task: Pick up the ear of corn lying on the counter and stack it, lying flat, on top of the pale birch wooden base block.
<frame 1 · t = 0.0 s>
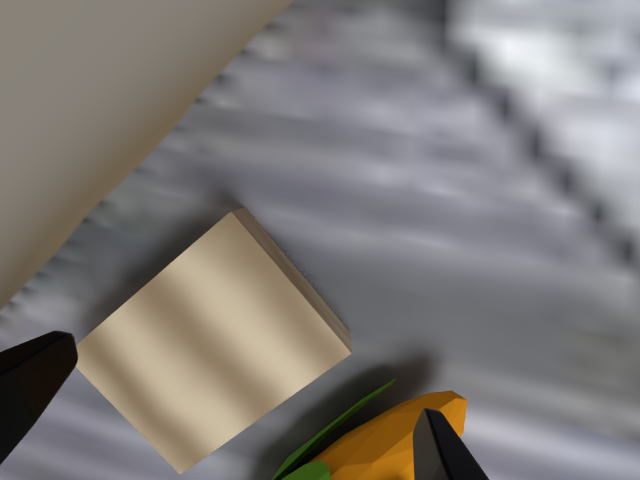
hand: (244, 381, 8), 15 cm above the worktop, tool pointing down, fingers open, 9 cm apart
corn: (349, 440, 26), on the worktop
birch base: (219, 333, 25), on the worktop
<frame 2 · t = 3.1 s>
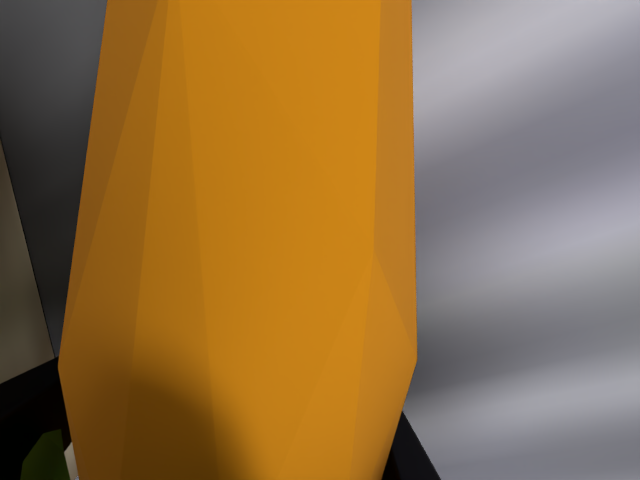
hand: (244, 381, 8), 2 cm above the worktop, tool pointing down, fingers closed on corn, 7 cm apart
corn: (268, 322, 10), on the worktop, touching gripper
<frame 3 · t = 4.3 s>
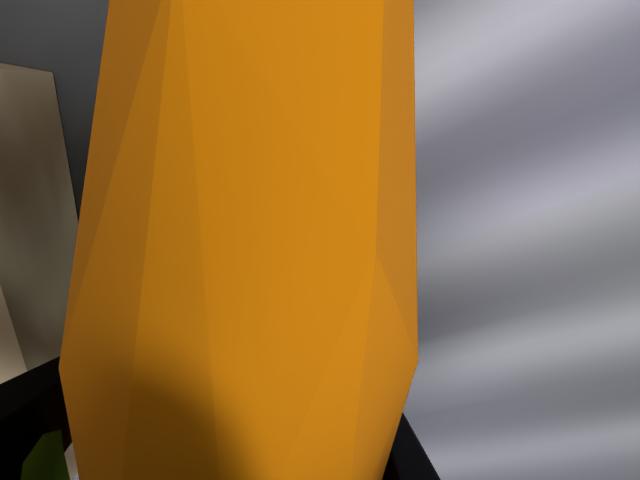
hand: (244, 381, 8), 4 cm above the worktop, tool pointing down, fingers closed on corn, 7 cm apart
corn: (268, 322, 10), point 2 cm above the worktop, touching gripper
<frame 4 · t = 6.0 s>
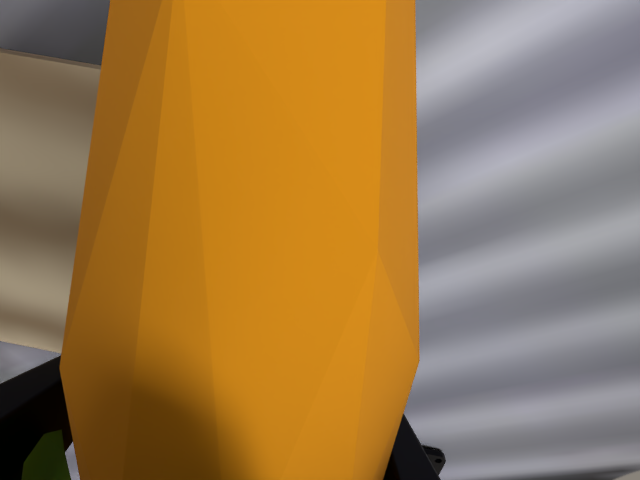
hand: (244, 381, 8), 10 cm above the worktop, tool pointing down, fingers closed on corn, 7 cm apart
corn: (269, 322, 10), point 8 cm above the worktop, touching gripper
birch base: (94, 216, 19), on the worktop
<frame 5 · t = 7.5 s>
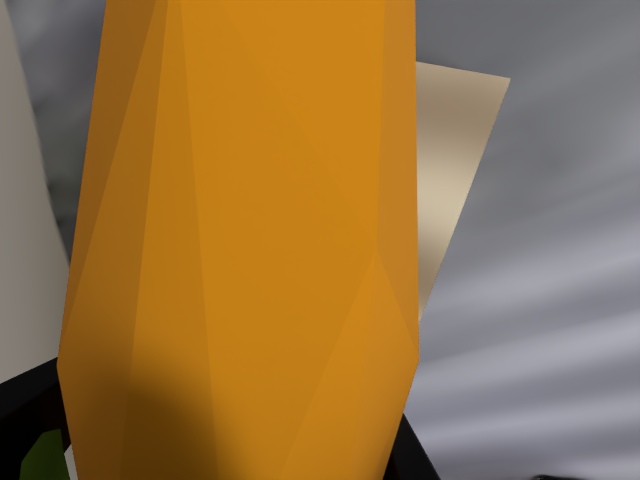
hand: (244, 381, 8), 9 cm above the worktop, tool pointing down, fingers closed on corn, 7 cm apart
corn: (268, 321, 10), point 7 cm above the worktop, touching gripper
birch base: (298, 235, 16), on the worktop
when the fingers open (6 cm above the worktop, at t = 8.9 s): corn drops 1 cm, resting on birch base.
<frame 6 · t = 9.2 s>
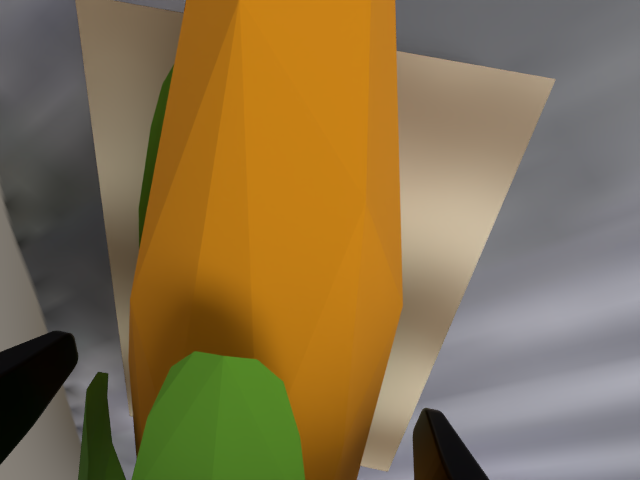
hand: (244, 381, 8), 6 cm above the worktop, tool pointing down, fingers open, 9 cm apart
corn: (276, 296, 12), point 3 cm above the worktop, touching birch base
birch base: (291, 260, 14), on the worktop
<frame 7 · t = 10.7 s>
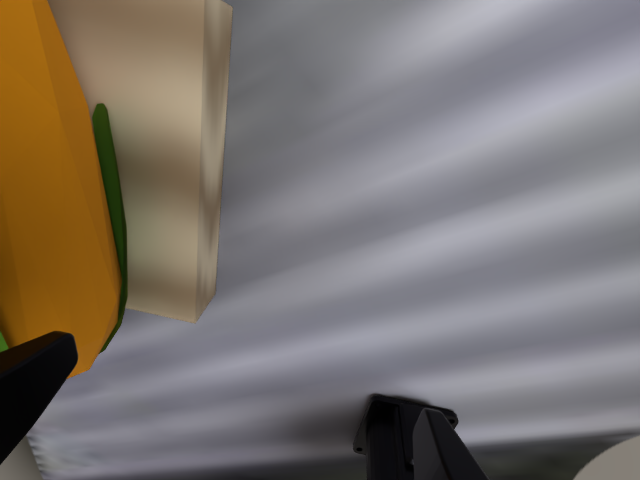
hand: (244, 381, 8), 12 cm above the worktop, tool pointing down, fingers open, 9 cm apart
corn: (76, 164, 16), point 3 cm above the worktop, touching birch base
birch base: (117, 155, 18), on the worktop
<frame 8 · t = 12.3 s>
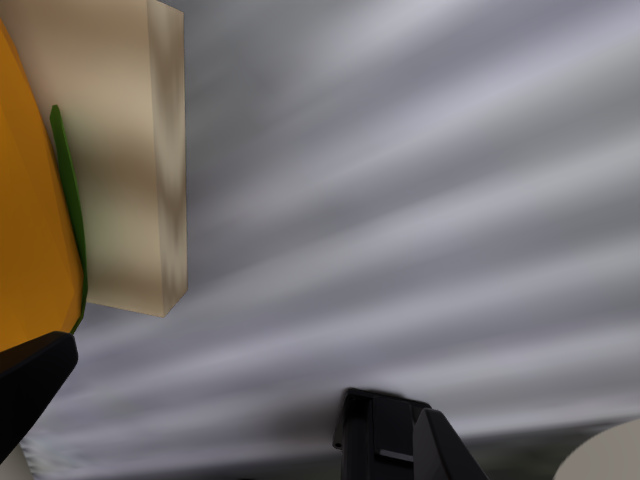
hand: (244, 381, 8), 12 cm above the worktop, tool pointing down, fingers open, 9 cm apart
corn: (39, 164, 17), point 3 cm above the worktop, touching birch base
birch base: (86, 157, 19), on the worktop
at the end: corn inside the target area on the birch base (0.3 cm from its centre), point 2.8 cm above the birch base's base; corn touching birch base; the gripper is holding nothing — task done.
